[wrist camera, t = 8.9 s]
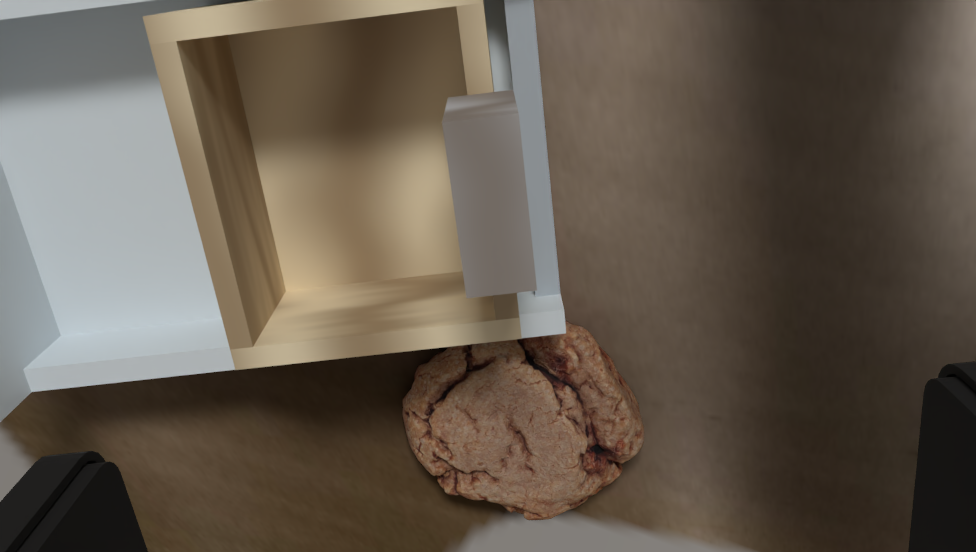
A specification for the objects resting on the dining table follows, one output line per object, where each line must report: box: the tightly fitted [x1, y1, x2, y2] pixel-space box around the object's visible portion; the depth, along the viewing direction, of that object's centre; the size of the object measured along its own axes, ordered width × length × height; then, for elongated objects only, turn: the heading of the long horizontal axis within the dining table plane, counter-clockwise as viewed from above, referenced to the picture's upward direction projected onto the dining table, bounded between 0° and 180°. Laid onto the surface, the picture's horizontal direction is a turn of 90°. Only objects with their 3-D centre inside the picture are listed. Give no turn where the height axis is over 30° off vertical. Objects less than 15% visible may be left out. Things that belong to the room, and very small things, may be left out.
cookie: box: [403, 321, 644, 520], centre depth 36 cm, size 10×11×3 cm
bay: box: [0, 0, 566, 422], centre depth 29 cm, size 22×15×7 cm, turn 97°
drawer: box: [143, 0, 537, 370], centre depth 26 cm, size 11×12×10 cm
